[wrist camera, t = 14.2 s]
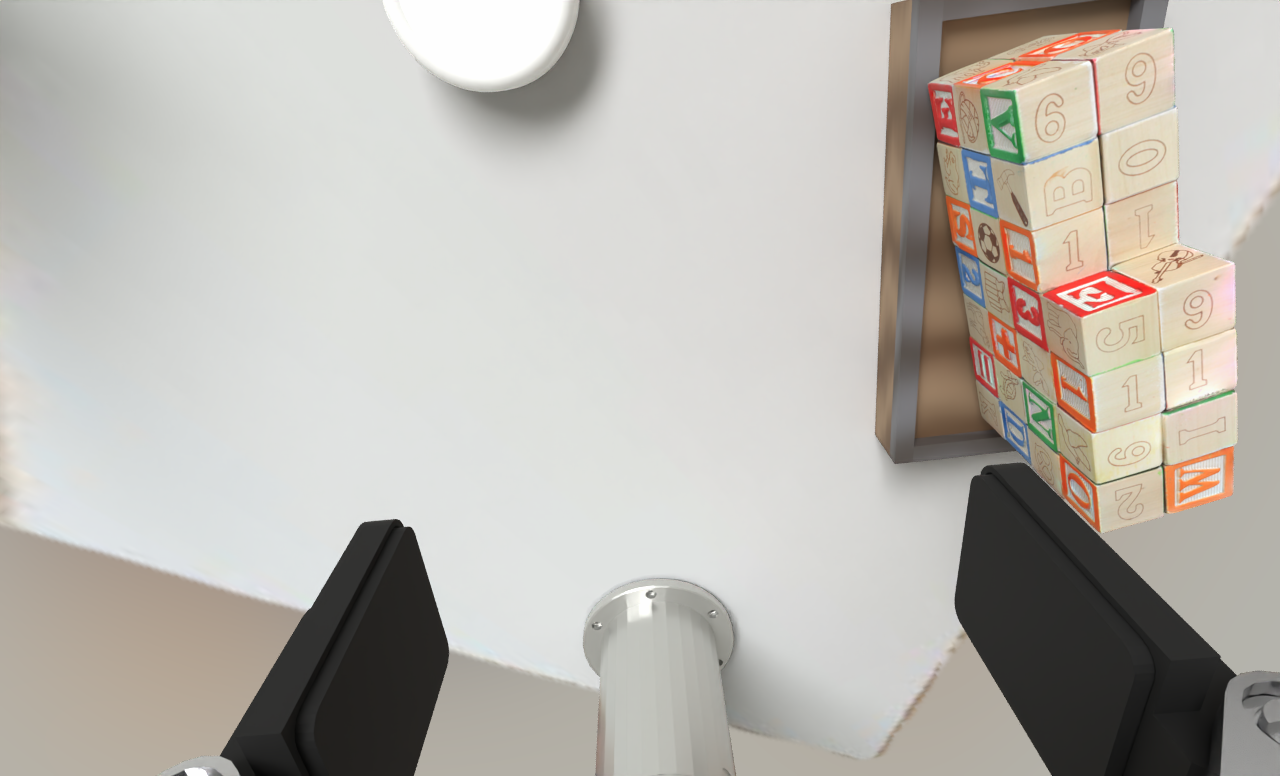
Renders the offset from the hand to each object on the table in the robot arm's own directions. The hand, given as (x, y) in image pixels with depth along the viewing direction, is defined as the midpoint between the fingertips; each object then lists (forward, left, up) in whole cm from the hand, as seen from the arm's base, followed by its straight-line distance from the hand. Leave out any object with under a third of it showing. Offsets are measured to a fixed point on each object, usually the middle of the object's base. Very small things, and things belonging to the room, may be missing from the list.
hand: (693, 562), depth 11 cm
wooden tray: (-5, -21, -33) cm, 39 cm away
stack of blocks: (-4, -21, -29) cm, 36 cm away
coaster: (+12, +7, -34) cm, 36 cm away
